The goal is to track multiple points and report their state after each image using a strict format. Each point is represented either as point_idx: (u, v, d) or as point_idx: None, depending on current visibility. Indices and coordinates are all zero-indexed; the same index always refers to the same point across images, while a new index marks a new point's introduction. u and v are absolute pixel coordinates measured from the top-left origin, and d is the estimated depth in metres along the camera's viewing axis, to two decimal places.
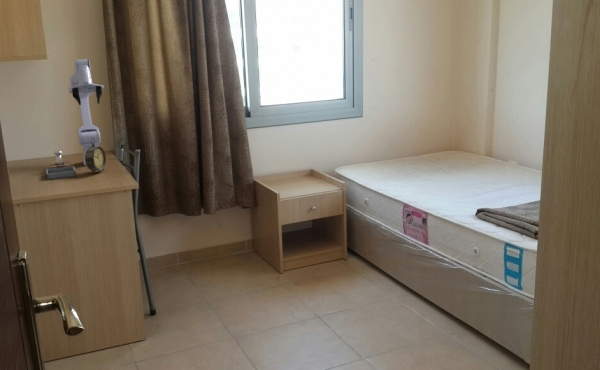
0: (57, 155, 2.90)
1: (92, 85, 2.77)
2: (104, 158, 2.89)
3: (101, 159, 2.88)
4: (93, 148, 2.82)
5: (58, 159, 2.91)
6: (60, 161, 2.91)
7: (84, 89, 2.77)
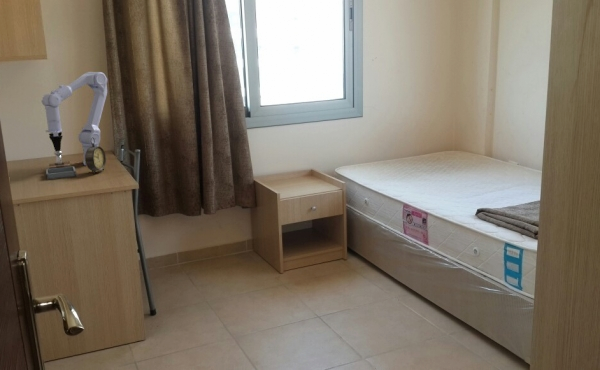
0: (57, 155, 2.90)
1: (51, 132, 2.85)
2: (104, 158, 2.89)
3: (101, 159, 2.88)
4: (93, 148, 2.82)
5: (58, 159, 2.91)
6: (60, 161, 2.91)
7: None
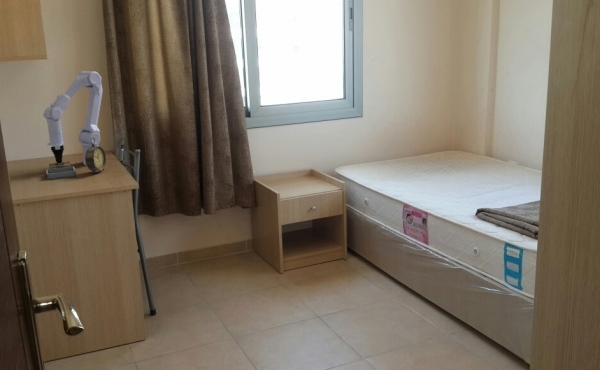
0: None
1: (52, 145, 2.87)
2: (104, 158, 2.89)
3: (101, 159, 2.88)
4: (93, 148, 2.82)
5: None
6: None
7: None
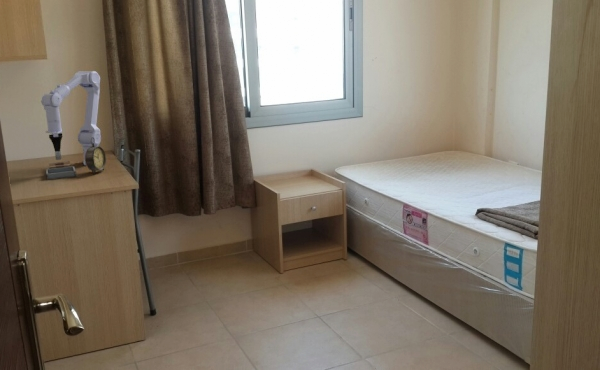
0: None
1: (51, 133, 2.80)
2: (104, 158, 2.89)
3: (101, 159, 2.88)
4: (93, 148, 2.82)
5: None
6: None
7: None
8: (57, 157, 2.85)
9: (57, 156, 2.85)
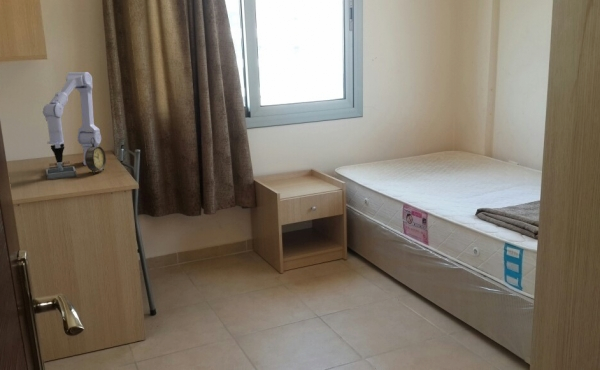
0: None
1: None
2: (104, 158, 2.89)
3: (101, 159, 2.88)
4: (93, 148, 2.82)
5: None
6: None
7: None
8: (59, 168, 2.81)
9: (59, 167, 2.81)
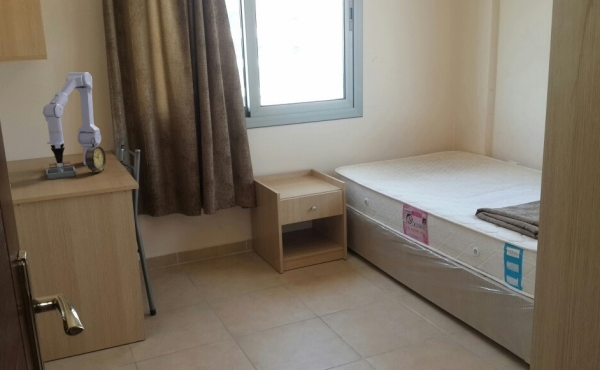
0: None
1: None
2: (104, 158, 2.89)
3: (101, 159, 2.88)
4: (93, 148, 2.82)
5: None
6: (61, 164, 2.81)
7: None
8: (59, 172, 2.82)
9: (59, 171, 2.81)
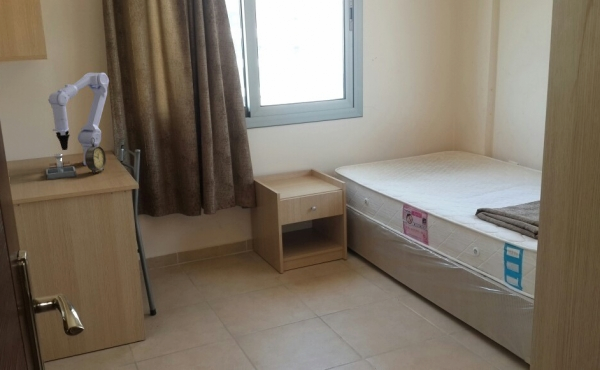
0: (58, 158, 2.80)
1: None
2: (104, 158, 2.89)
3: (101, 159, 2.88)
4: (93, 148, 2.82)
5: (59, 162, 2.80)
6: (61, 164, 2.81)
7: None
8: (59, 172, 2.82)
9: (59, 171, 2.81)
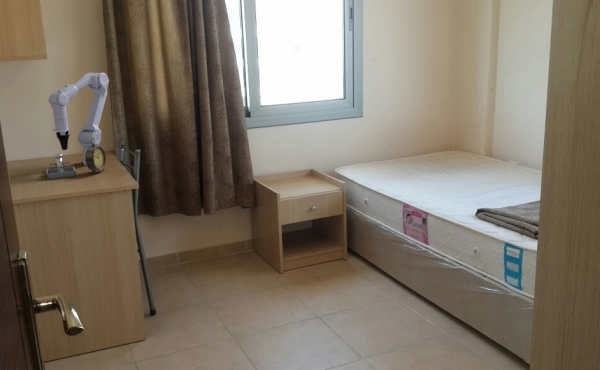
0: (58, 158, 2.80)
1: None
2: (104, 158, 2.89)
3: (101, 159, 2.88)
4: (93, 148, 2.82)
5: (59, 162, 2.80)
6: (61, 164, 2.81)
7: None
8: (59, 172, 2.82)
9: (59, 171, 2.81)
